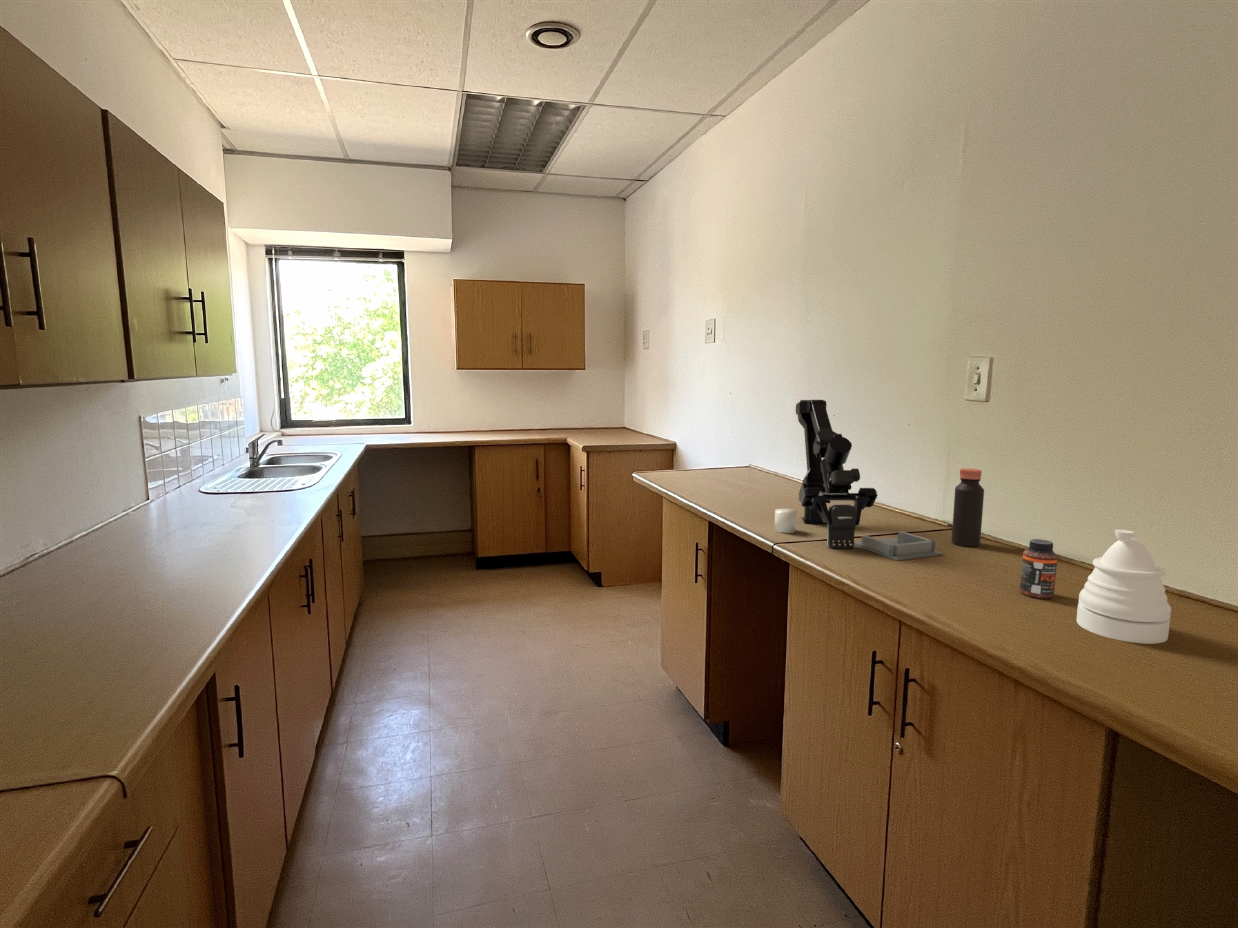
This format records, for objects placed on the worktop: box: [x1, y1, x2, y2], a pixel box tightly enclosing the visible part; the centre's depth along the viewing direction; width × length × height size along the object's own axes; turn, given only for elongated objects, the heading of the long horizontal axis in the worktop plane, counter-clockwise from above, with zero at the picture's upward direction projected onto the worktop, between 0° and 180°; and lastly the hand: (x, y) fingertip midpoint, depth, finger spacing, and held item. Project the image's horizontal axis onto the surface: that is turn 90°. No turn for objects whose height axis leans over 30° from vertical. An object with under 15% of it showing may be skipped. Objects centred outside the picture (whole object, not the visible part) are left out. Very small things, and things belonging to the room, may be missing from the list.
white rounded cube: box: [774, 508, 797, 534], centre depth 185 cm, size 6×6×6 cm
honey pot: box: [1076, 529, 1172, 645], centre depth 112 cm, size 13×13×18 cm
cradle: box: [854, 530, 942, 562], centre depth 165 cm, size 16×14×3 cm
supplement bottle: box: [1019, 538, 1058, 600], centre depth 130 cm, size 6×6×11 cm
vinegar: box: [951, 468, 985, 548], centre depth 169 cm, size 7×7×20 cm
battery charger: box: [826, 503, 858, 550], centre depth 166 cm, size 7×4×11 cm, turn 88°
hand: (843, 524), depth 165 cm, fingers closed on battery charger, 7 cm apart
